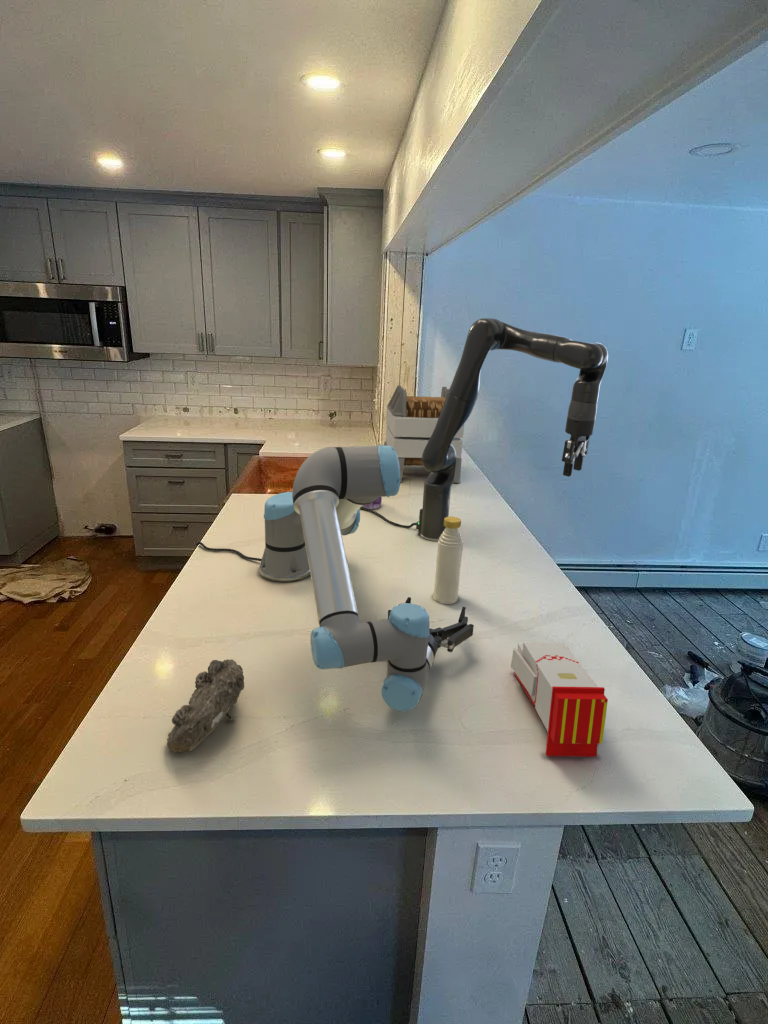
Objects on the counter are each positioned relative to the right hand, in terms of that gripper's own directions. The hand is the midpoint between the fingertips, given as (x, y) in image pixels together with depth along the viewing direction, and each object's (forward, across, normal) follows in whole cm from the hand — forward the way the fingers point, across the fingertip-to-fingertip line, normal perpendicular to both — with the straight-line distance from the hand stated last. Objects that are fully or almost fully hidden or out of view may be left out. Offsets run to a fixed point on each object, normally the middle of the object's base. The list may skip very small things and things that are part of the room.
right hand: (572, 472), depth 164 cm
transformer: (+33, -64, -93) cm, 117 cm away
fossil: (+32, +107, -27) cm, 115 cm away
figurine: (+33, -9, -80) cm, 86 cm away
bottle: (+32, +36, -18) cm, 52 cm away
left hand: (+26, +53, -11) cm, 60 cm away
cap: (+9, +36, -18) cm, 42 cm away
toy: (+32, +63, +22) cm, 74 cm away
